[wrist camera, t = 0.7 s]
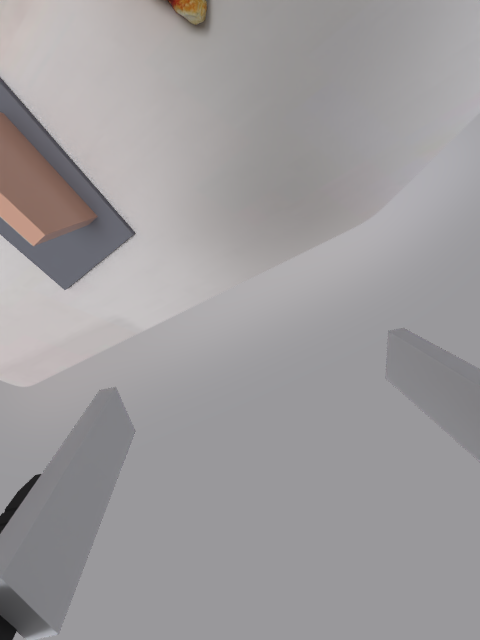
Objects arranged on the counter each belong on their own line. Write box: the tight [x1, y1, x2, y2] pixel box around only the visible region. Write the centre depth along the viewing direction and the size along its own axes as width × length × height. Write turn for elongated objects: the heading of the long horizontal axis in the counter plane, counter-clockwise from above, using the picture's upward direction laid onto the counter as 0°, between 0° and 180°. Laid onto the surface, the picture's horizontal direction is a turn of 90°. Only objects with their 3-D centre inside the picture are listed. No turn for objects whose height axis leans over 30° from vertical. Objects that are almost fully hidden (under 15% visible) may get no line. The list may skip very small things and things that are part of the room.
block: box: [0, 112, 98, 246], centre depth 24 cm, size 2×12×10 cm, turn 34°
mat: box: [0, 78, 135, 290], centre depth 30 cm, size 14×20×1 cm
